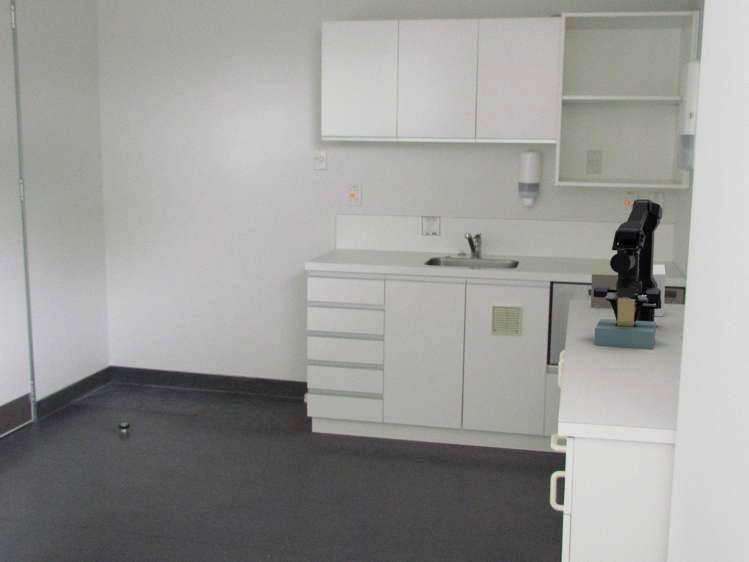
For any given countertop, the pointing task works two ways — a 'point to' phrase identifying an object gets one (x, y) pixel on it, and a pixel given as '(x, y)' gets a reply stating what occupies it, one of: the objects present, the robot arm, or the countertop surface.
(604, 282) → the laptop
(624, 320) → the brass pin
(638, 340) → the hole block
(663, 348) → the countertop surface
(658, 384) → the countertop surface
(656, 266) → the milk carton
